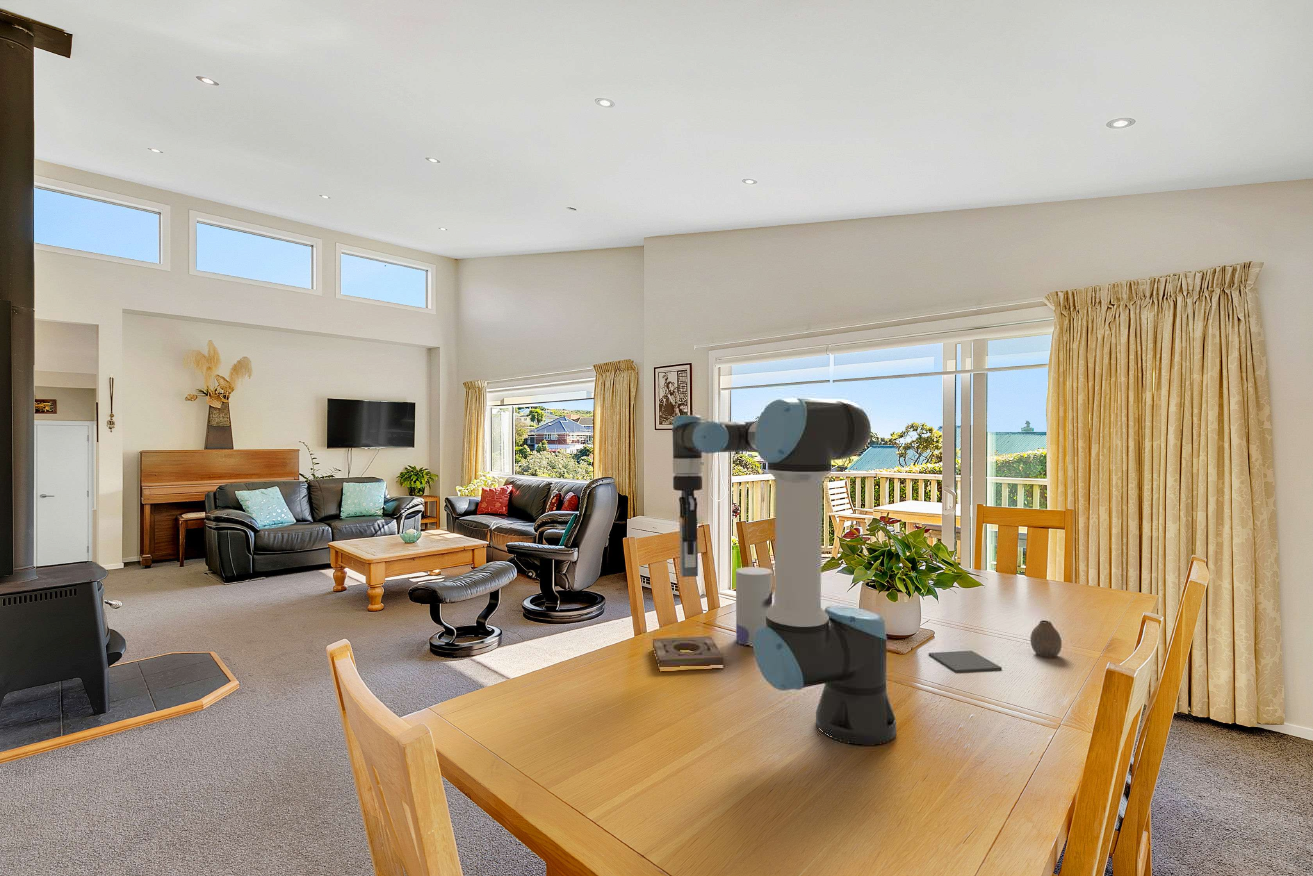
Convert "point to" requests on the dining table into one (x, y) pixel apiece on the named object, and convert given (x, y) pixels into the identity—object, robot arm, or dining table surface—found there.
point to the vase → (1046, 640)
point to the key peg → (684, 570)
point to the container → (752, 601)
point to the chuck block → (701, 655)
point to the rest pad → (964, 661)
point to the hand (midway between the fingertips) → (688, 564)
